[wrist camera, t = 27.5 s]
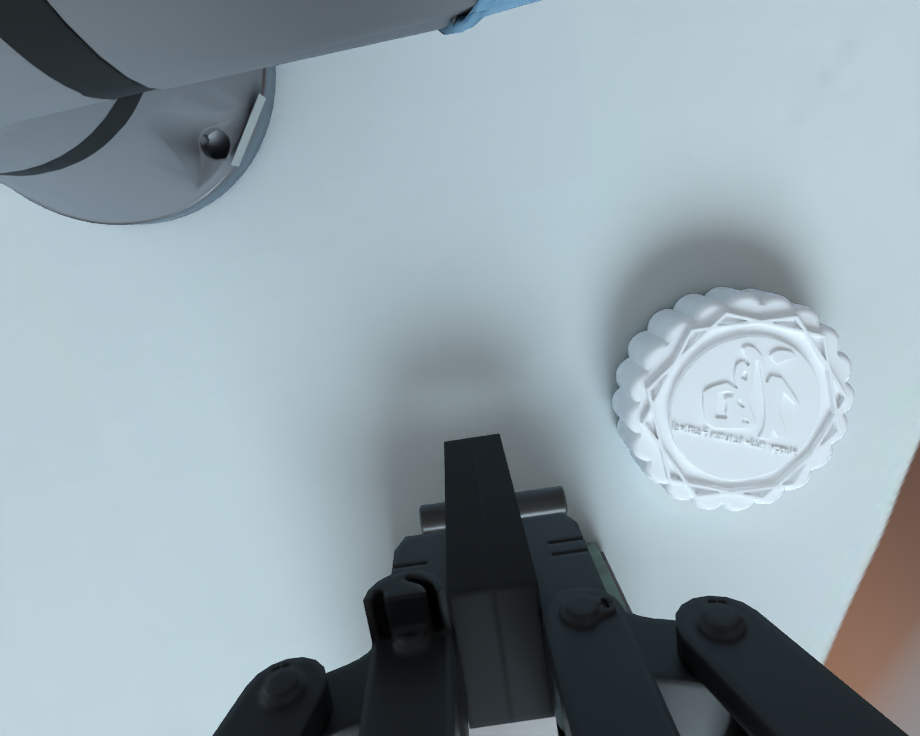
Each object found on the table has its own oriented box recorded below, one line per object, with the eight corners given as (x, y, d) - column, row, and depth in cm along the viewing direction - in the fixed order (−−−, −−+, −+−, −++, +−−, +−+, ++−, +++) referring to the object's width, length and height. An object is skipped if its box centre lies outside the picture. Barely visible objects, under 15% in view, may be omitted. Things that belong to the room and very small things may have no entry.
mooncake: (852, 312, 33) (900, 323, 30) (777, 505, 36) (813, 536, 32) (646, 263, 32) (671, 269, 29) (585, 466, 35) (601, 494, 31)
